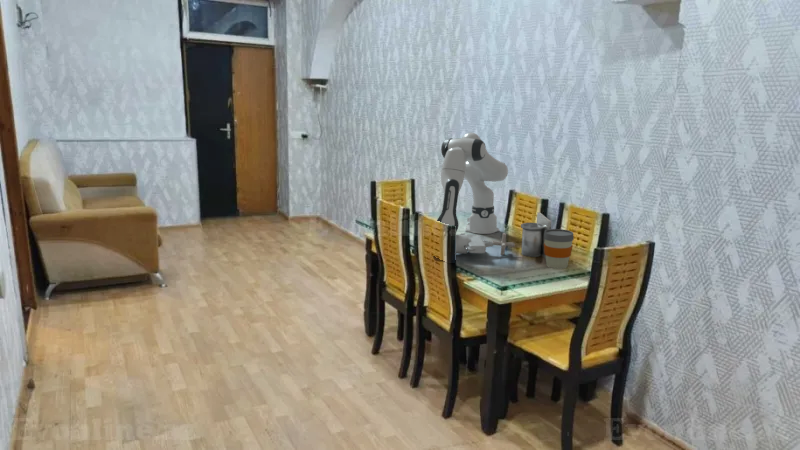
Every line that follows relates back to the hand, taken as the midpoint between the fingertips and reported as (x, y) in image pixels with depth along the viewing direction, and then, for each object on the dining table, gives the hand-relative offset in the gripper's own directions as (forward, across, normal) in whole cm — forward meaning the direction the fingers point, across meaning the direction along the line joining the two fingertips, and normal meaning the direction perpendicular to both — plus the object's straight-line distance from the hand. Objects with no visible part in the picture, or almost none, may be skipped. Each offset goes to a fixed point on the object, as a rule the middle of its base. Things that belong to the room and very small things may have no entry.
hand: (492, 243), depth 260 cm
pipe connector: (+5, 0, +5) cm, 7 cm away
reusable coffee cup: (+26, -18, +6) cm, 31 cm away
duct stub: (+18, 0, +5) cm, 19 cm away
